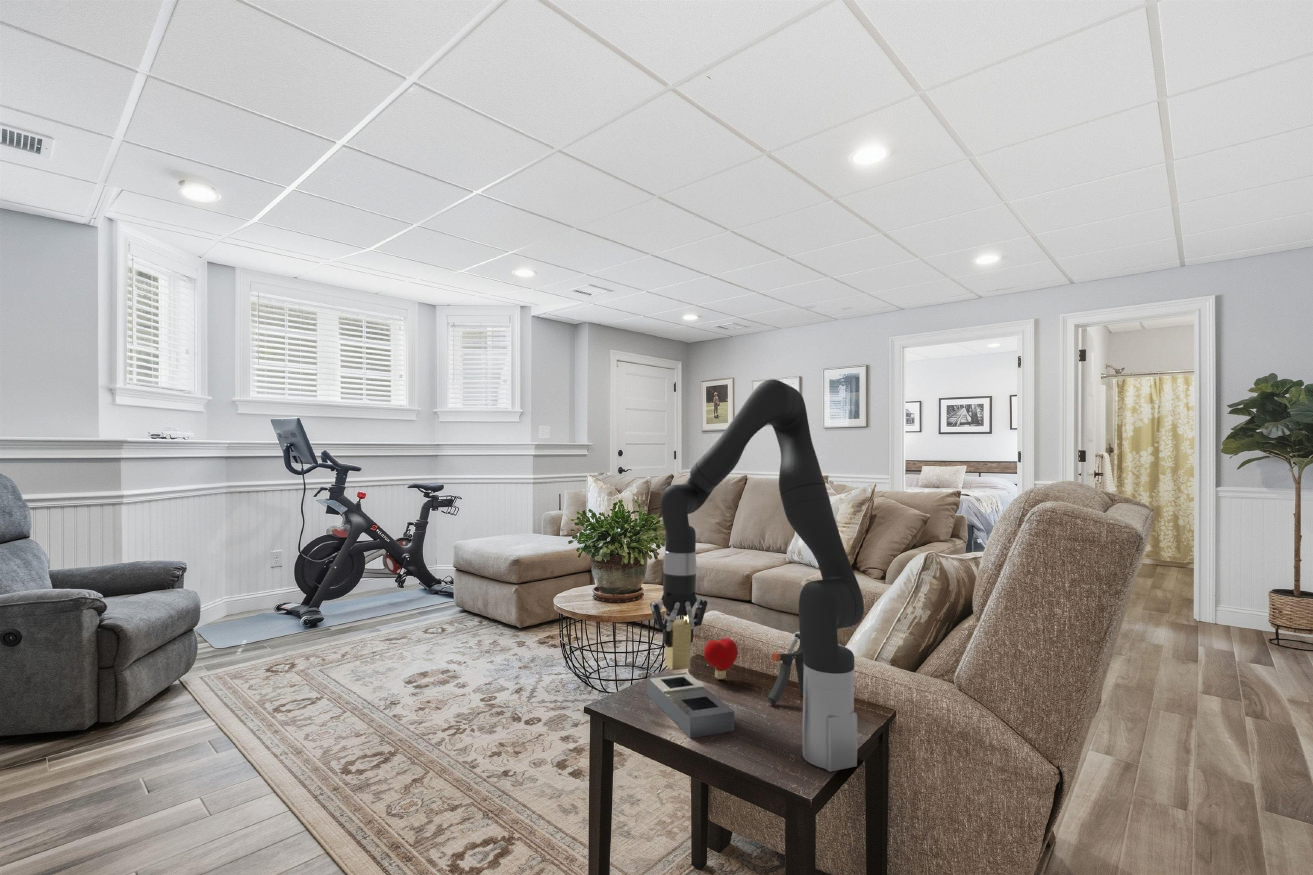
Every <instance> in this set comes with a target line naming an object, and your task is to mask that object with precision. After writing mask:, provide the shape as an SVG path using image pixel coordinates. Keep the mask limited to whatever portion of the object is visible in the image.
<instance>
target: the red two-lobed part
mask: <svg viewBox="0 0 1313 875" xmlns="http://www.w3.org/2000/svg"><path fill="white" fill-rule="evenodd" d="M738 649H739V648H738V645H737V644H736V642H734V640H732V639H731V638H727V637H724V638H721V639H719V640H716V639H711V640H709V641H708V642H707V643H706V645H705V647H704V649H703V656H704V660H705V661H706V663H708V665H709V666H711V667H713V668H714V677H715V678H716V679H717V680H718V681H723V680H724V679H726V677H727V675H726V674H727V670H728V669H730V667H732V666H733V665H734V663H735V662H736V660H737V658H738V655H739V654H738V653H739V652H738Z"/></svg>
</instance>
